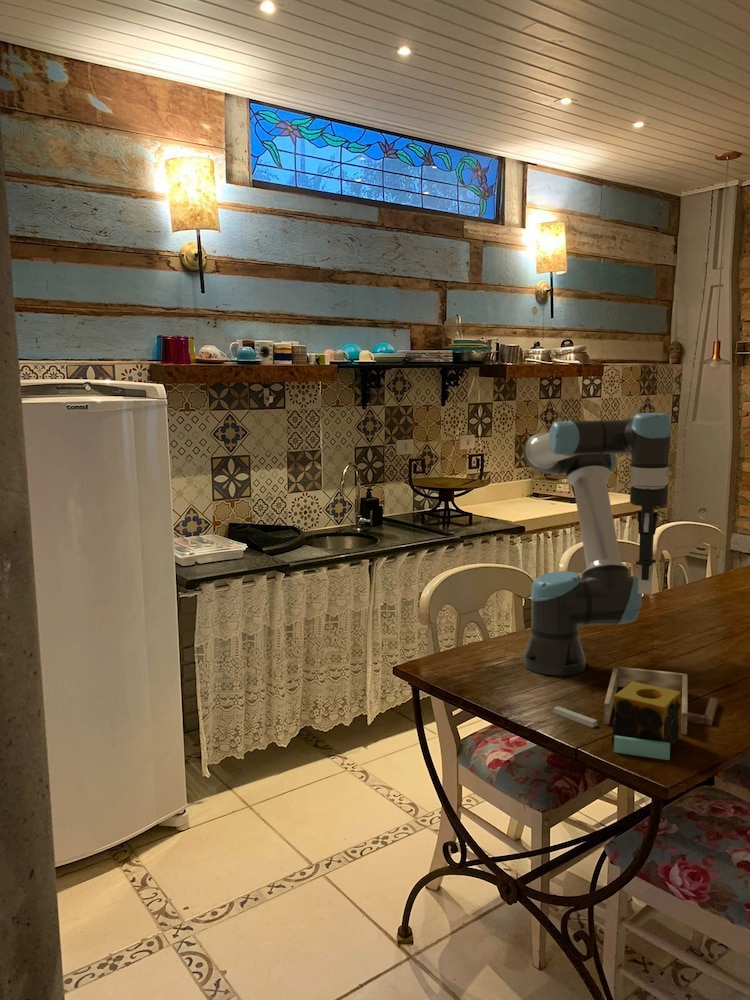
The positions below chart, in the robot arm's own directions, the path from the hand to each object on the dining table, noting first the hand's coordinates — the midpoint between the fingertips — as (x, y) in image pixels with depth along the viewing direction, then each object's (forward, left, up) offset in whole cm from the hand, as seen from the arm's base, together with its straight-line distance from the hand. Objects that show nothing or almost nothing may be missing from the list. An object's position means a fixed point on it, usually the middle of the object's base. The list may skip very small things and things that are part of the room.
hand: (644, 592), depth 170 cm
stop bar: (+1, -27, -25) cm, 36 cm away
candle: (+2, -20, -25) cm, 32 cm away
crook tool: (+12, -2, -25) cm, 28 cm away
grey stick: (-13, -14, -25) cm, 32 cm away
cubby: (+1, -3, -25) cm, 25 cm away
